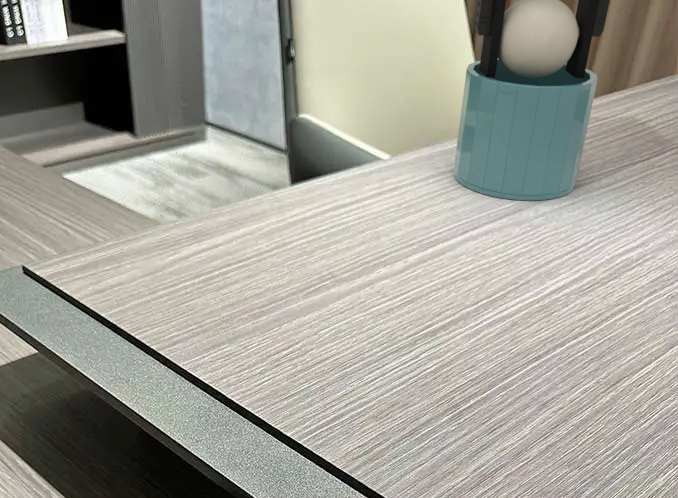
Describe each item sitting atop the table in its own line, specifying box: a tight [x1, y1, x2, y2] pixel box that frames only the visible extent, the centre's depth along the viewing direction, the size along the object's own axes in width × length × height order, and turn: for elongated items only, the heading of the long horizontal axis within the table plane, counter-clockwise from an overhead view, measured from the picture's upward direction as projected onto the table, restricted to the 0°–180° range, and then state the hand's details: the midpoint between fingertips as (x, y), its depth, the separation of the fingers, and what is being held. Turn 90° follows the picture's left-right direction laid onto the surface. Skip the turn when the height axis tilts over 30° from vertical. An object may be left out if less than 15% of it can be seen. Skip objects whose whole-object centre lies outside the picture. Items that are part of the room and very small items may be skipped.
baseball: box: [498, 0, 580, 78], centre depth 71 cm, size 7×7×7 cm
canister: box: [453, 59, 598, 201], centre depth 75 cm, size 11×11×10 cm
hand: (530, 73), depth 73 cm, fingers closed on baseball, 7 cm apart
